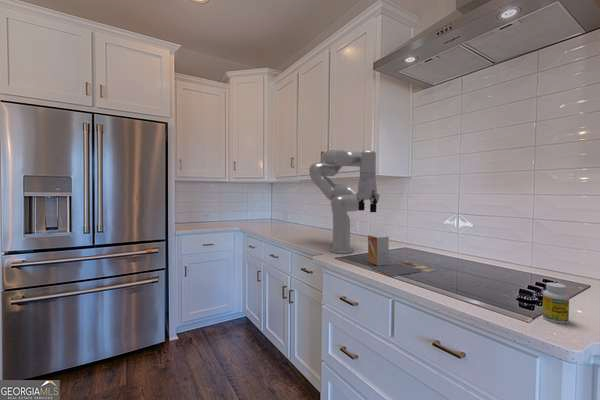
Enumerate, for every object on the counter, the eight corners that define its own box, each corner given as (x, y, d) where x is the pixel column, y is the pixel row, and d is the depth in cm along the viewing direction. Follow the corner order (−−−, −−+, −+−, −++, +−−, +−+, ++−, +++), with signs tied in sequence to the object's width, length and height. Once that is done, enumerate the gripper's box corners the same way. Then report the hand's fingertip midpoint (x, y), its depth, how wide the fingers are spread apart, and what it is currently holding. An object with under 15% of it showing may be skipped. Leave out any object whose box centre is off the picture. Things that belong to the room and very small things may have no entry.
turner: (398, 263, 138) (398, 260, 138) (406, 261, 140) (406, 259, 140) (426, 272, 123) (426, 270, 123) (435, 271, 125) (435, 268, 125)
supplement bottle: (559, 316, 81) (560, 281, 81) (573, 325, 76) (575, 288, 76) (537, 314, 82) (538, 281, 82) (550, 323, 77) (551, 287, 76)
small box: (368, 262, 140) (367, 235, 140) (379, 261, 142) (379, 234, 142) (377, 265, 132) (376, 237, 132) (389, 264, 134) (388, 236, 134)
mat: (369, 267, 130) (369, 267, 130) (397, 264, 136) (397, 263, 136) (390, 276, 117) (390, 276, 117) (421, 271, 124) (421, 271, 124)
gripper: (351, 176, 150) (351, 210, 151) (372, 175, 134) (371, 213, 135) (363, 176, 152) (363, 209, 154) (385, 176, 137) (384, 212, 138)
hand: (367, 211), depth 144 cm, fingers open, 9 cm apart
